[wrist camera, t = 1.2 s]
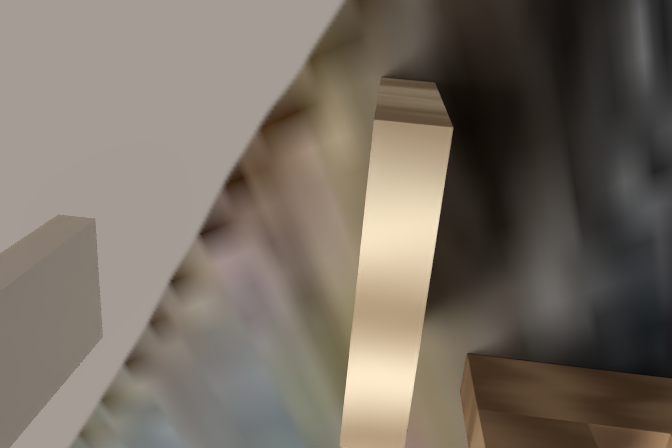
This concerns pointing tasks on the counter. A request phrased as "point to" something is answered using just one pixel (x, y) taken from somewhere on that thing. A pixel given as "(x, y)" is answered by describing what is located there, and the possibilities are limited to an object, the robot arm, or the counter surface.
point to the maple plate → (395, 260)
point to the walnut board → (562, 406)
